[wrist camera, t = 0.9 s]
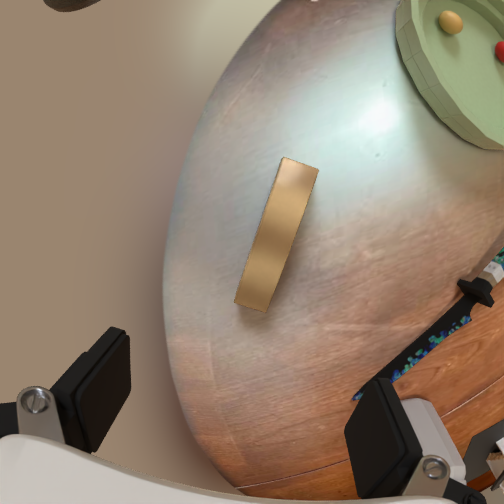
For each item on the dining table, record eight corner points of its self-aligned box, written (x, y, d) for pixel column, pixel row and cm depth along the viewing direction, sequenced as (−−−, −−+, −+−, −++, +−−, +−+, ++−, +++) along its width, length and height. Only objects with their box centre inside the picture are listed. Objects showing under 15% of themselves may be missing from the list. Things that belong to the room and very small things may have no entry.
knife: (523, 208, 24) (546, 217, 19) (531, 227, 24) (552, 238, 20) (337, 374, 34) (340, 399, 29) (351, 385, 34) (355, 411, 30)
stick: (281, 158, 26) (283, 156, 23) (313, 169, 26) (319, 169, 23) (236, 289, 29) (233, 303, 26) (266, 299, 29) (266, 313, 26)
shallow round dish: (355, -3, 20) (368, -27, 16) (475, -14, 17) (493, -28, 12) (448, 175, 25) (477, 178, 20) (543, 126, 21) (568, 125, 17)
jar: (388, 447, 35) (416, 541, 18) (353, 426, 34) (380, 538, 16) (440, 409, 33) (487, 499, 15) (412, 382, 31) (469, 490, 14)
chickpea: (429, 17, 20) (441, 7, 17) (446, 15, 19) (458, 6, 16) (443, 39, 20) (456, 30, 17) (459, 36, 20) (472, 28, 17)
